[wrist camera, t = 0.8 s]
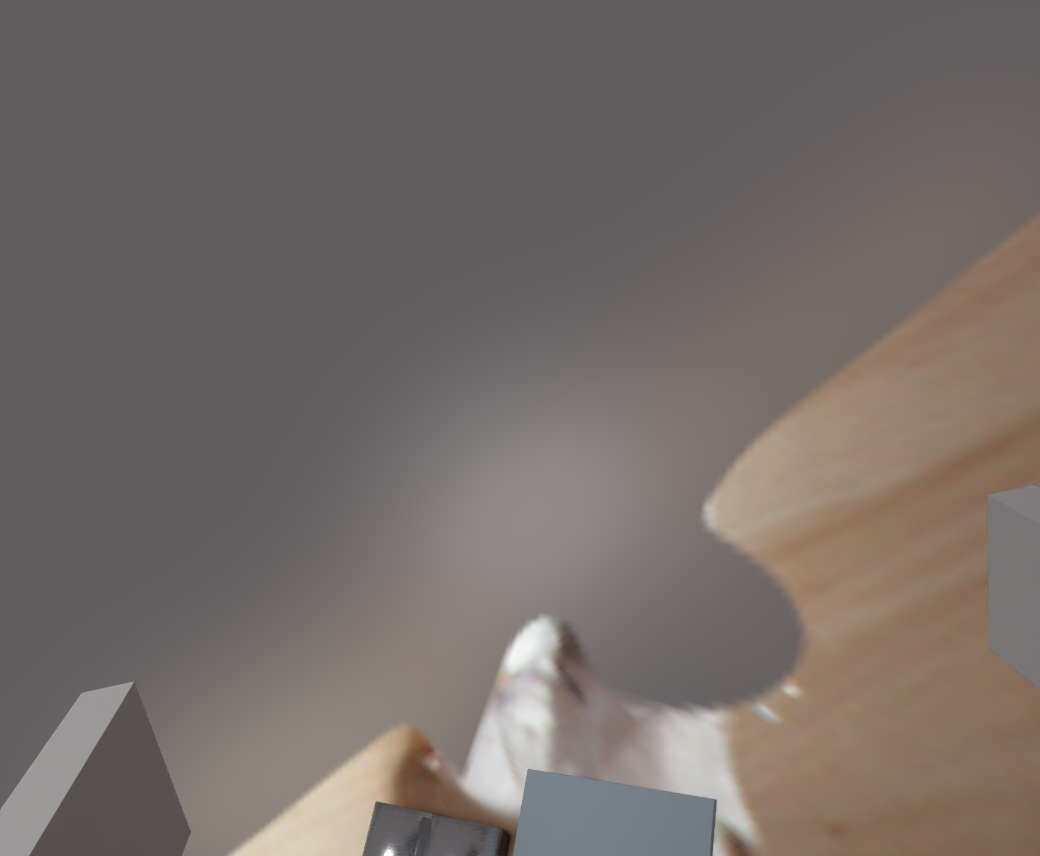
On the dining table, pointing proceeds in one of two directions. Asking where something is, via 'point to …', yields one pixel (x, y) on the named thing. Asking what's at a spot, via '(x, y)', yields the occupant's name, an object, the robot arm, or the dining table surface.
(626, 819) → the mat
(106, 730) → the robot arm
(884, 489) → the dining table surface
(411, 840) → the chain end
